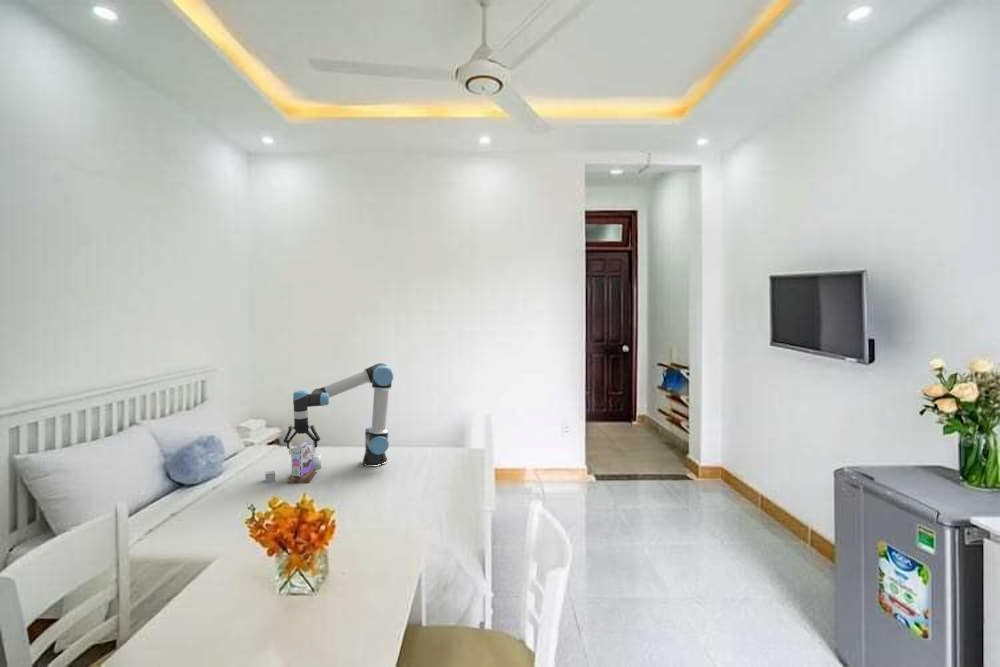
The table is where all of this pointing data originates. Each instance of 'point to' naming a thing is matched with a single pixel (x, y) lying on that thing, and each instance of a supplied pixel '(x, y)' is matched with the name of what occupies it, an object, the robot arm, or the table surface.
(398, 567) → the table surface
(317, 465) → the light grey rounded block
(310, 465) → the candy box
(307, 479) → the brown wooden board
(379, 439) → the robot arm
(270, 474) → the grey box
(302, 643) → the table surface
